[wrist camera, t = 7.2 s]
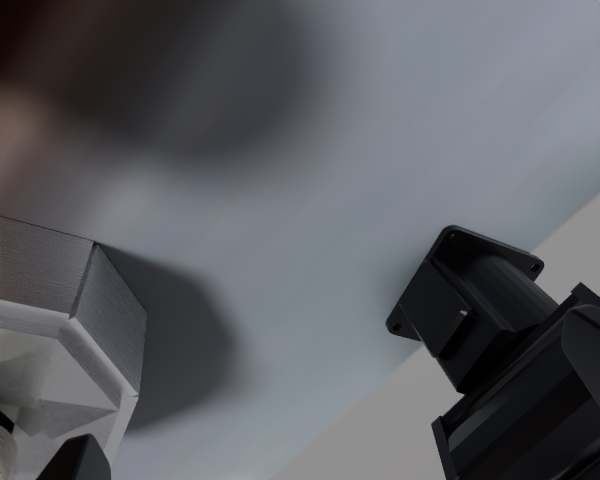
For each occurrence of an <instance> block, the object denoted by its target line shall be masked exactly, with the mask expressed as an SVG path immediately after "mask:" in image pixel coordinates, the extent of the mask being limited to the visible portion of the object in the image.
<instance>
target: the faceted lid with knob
mask: <svg viewBox="0 0 600 480" xmlns="http://www.w3.org/2000/svg"><path fill="white" fill-rule="evenodd" d="M93 243H94V241H91V240H87V239H83V238H79V237H76V236H72V235H68V234H64V233H60V232H57V231H53V230H49V229H45V228H42V227H38V226H34V225H30V224H26V223H23V222H19V221H15V220H11V219H8V218H4V217H0V410H1V411H2V412H3V413H0V425H1V426H2V427H3V428H5V429H6V430H7V431H8V432H9V433H10V434H11V435H12V437H13V438H14V440H15V442H16V444H17V448H18V455H17V459H16V462H15V465H14V468H13V471H12V474H11V477H10V480H36V478H37V477H38V476H39V474H40V473H41V472H42V470H43V469H44V468H45V466H46V465H47V464H48V462H49V461H50V460H51V459H52V457H53V456H54V455H55V453H56V452H57V451H58V449H59V448H60V447H61V445H62V444H63V443H64V442H65V441H66V440H67V439H69V438H72V437H75V436H79V435H83V434H87V433H90V434H92V435H94V436H95V438H96V440H97V441H98V443H99V445H100V447H101V449H102V450H103V452H104V454H105V456H106V458H107V459H108V462H109V465H110V467H111V465H112V462H113V460H114V457H115V455H116V452H117V450H118V448H119V445H120V443H121V440H122V438H123V435H124V433H125V430H126V428H127V425H128V423H129V420H130V418H131V415H132V413H133V411H134V408H135V406H136V403H137V401H138V398H139V390H140V380H141V371H142V362H143V352H144V343H145V334H146V324H147V313H146V311H145V310H144V309H143V307H142V306H141V304H140V303H139V301H138V300H137V299H136V297H135V296H134V294H133V293H132V292H131V290H130V289H129V287H128V286H127V285H126V283H125V282H124V280H123V279H122V277H121V276H120V275H119V273H118V272H117V270H116V269H115V268H114V266H113V265H112V263H111V262H110V260H109V259H108V258H107V256H106V255H105V253H104V252H103V251H102V249H101V248H100V246H99V245H98V244H97V245H94V246H93Z"/></svg>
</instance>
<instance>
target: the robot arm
mask: <svg viewBox="0 0 600 480" xmlns="http://www.w3.org/2000/svg"><path fill="white" fill-rule="evenodd" d="M452 234H454V236H453V237H452V238H451V239H449V237H450V236H451V235H452ZM533 265H534V266H533ZM532 266H533V267H532ZM531 267H532V268H531ZM543 268H544V262H543V261H542V260H540V259H539V258H538V257H536V256H534V255H531V254H529V253H526V252H523V251H521V250H518V249H515V248H513V247H510V246H507V245H505V244H502V243H499V242H497V241H494V240H491V239H488V238H486V237H483V236H480V235H478V234H475V233H472V232H470V231H467V230H464V229H462V228H459V227H456V226H447V227H446V228H444V229H443V230H442V232H441V233H440V235H439V236H438V238H437V240H436V241H435V243H434V244H433V246H432V248H431V249H430V251H429V253H428V254H427V256H426V257H425V259H424V261H423V262H422V264H421V265H420V267H419V268H418V270H417V272H416V273H415V275H414V276H413V278H412V280H411V281H410V283H409V285H408V286H407V288H406V289H405V291H404V293H403V294H402V296H401V298H400V299H399V301H398V303H397V304H396V306H395V308H394V309H393V311H392V313H391V314H390V316H389V317H388V319H387V321H386V327H387V329H388V331H389V332H390V333H391V334H394V335H397V336H401V337H405V338H409V339H413V340H417V341H421V342H423V343H424V345H425V347H426V348H427V350H428V351H429V353H430V354H431V356H432V357H433V358H436V360H437V361H438V363H439V365H440V366H441V368H442V369H443V371H444V372H445V374H446V375H447V377H448V379H449V380H450V382H451V383H452V385H453V386H454V388H455V389H456V391H457V392H459V393H462V394H464V396H463V397H462V398H461V399H460V400H459V401H458V402H457V403H456V404H455V405H454V406H453V407H452V408H451V409H450V410H449V411H448V412H446V413H445V414H444V415H443V416H439V417H438V418H437V419H436V420H435V421H434V422H433V423H432V424H431V426H432V430H433V433H434V437H435V440H436V444H437V447H438V451H439V455H440V458H441V462H442V466H443V469H444V473H445V477H446V480H600V297H599V296H597V295H596V294H595V293H593V292H592V291H591V290H590V289H589V288H587V287H586V286H585V285H584V284H582V283H581V282H580V283H579V284H578V285H577V286H576V287H575V288H574V289H573V290H572V291H571V293H572V294H571V295H570V296H569V297H568V298H567V299H566V300H565V301H564V302H563V303H562V304H560V305H558V304H557V303H556V302H555V301H554V300H553V299H552V298H551V297H550V296H548V295H547V294H546V293H545V292H544V291H543V290H542V289H541V288H540V287H538V286H537V285H536V284H535V283H534V281H535V279H536V278H537V277H538V275H539V274H540V273H541V271H542V270H543ZM397 323H398V324H397ZM395 324H397V325H396V326H394V325H395ZM36 480H111V469H110V465H109V462H108V459H107V458H106V456H105V454H104V452H103V450H102V449H101V447H100V445H99V443H98V441H97V440H96V438H95V436H94V435H92V434H90V433H87V434H83V435H79V436H75V437H72V438H69V439H67V440H66V441H65V442H64V443H63V444H62V445H61V447H60V448H59V449H58V451H57V452H56V453H55V455H54V456H53V457H52V459H51V460H50V461H49V462H48V464H47V465H46V466H45V468H44V469H43V470H42V472H41V473H40V474H39V476H38V477H37V478H36Z"/></svg>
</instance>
